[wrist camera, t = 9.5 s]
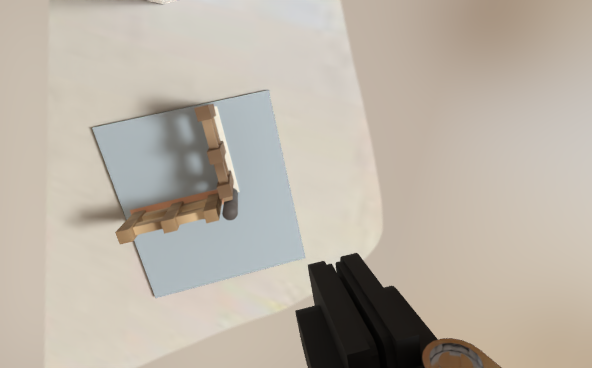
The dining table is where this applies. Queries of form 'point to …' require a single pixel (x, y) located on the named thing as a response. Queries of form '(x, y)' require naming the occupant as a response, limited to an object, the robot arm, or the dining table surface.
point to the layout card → (205, 191)
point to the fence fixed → (219, 161)
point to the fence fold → (170, 217)
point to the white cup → (162, 1)
